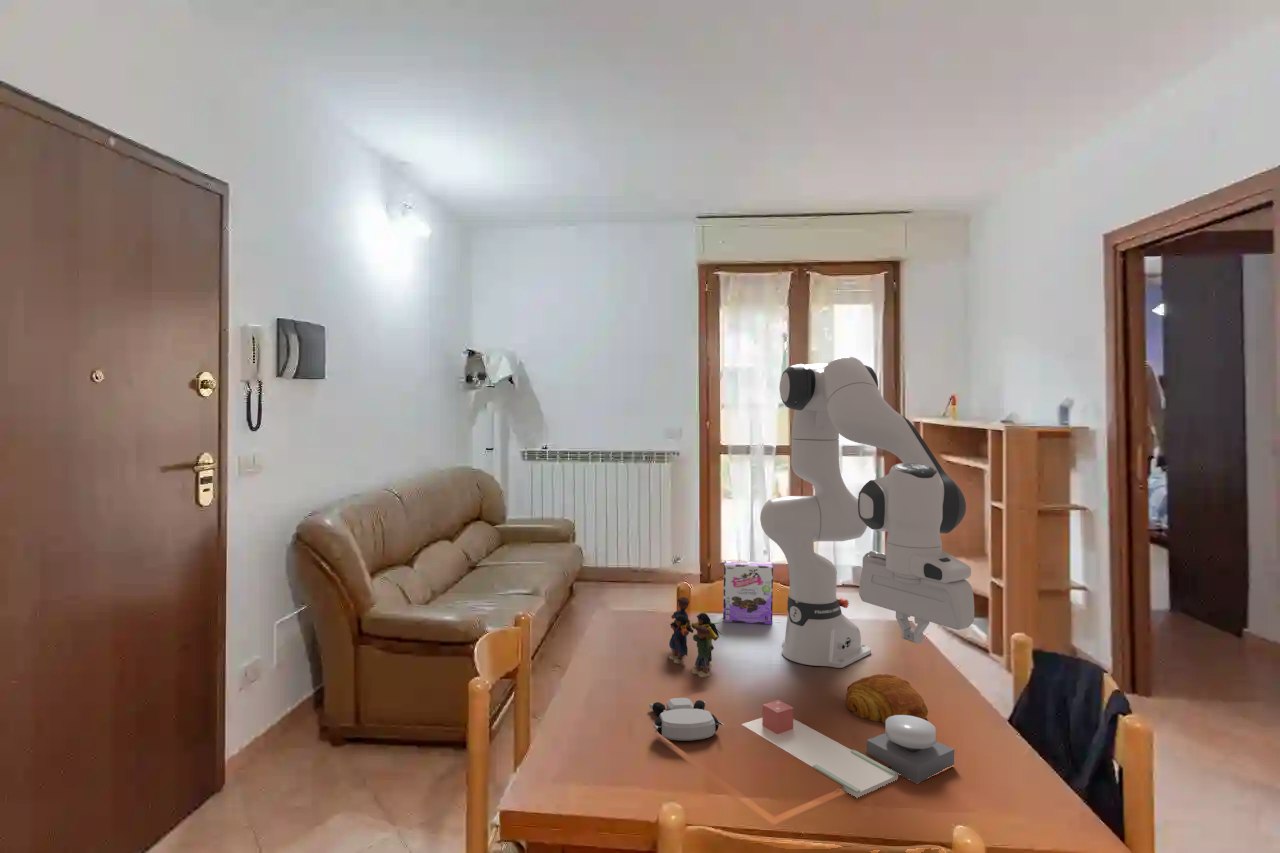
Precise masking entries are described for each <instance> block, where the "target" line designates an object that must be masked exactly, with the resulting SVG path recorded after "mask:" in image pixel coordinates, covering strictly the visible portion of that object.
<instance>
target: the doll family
mask: <svg viewBox="0 0 1280 853" xmlns="http://www.w3.org/2000/svg"><path fill="white" fill-rule="evenodd" d="M677 602H678V608H679V609H678V610H676V611H674V612H673V614H672V615H671V617H670V618H671V619H672V620H673V621H669V620H668V621H667V622H668V623H670V629H672V630H673V633H672V634H671V637H670V639H669V643H668V646H669V648H670V649H671V650H672V651H673V653H671V654H669V656H668V657H669V658H668V659H670V660H673V663H675V664H678V665H679V664H682V663H684V659H683V656H686V657H688V652H689V651H688V645H687V644H688V636H689V634H690V633H692V634H693V633H694V630H695V631H696V634H695V633H694V634H693V636H692V639H693V641H695V642H696V648H697V656H696V659H695V661H694V665H695V667H694V668H692V669H691V674H693V675H695V674H696V675H698V677H700V678H707V677H710V676H711V673H710V672H709V669H710V668H712V667H713V666H712V664H711V662H712V659H713V658H712V651H713V650H714V649H715V648H714V645H713V643H712V640H713V641H714V642H715V641H717V640H718V639H719V638H720V635H722V634H723V633H721V632H720V631H719V630H718V629H717V625H718V624H719V623H720V622H718V621H717V622H712V621H711V618H710V617H709V615H708V614H707V613H705V612H701V613H699V614H697V615H696V618H697V622H692V623H691V620H690V619H689V615H688V612H687V611H686V610H687V609H688V607H689V604H690V600H689V598H688V597H686V596H682V597H679V598H677ZM719 634H720V635H719Z"/></svg>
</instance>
